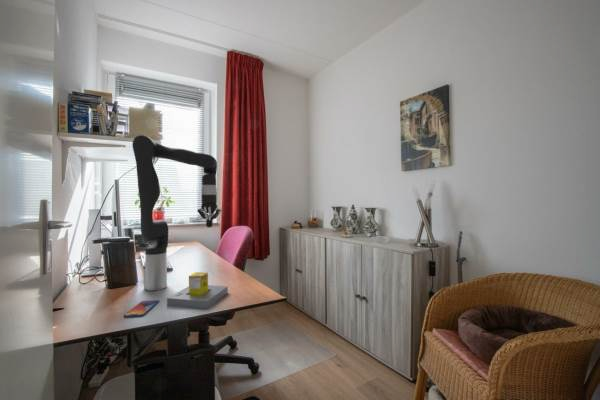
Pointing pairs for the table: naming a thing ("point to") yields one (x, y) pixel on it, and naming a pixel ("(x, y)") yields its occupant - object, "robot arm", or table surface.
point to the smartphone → (141, 309)
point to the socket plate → (197, 297)
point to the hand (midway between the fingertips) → (209, 227)
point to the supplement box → (198, 284)
